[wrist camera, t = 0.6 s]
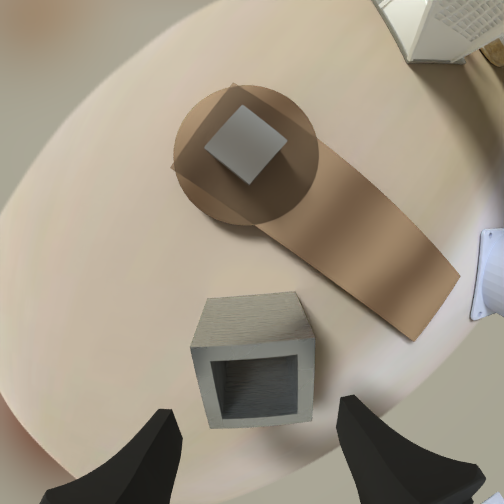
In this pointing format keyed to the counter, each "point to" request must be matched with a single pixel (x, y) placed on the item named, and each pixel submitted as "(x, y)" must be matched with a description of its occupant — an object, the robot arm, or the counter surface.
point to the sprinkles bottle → (495, 51)
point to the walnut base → (308, 202)
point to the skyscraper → (442, 27)
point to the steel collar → (255, 361)
